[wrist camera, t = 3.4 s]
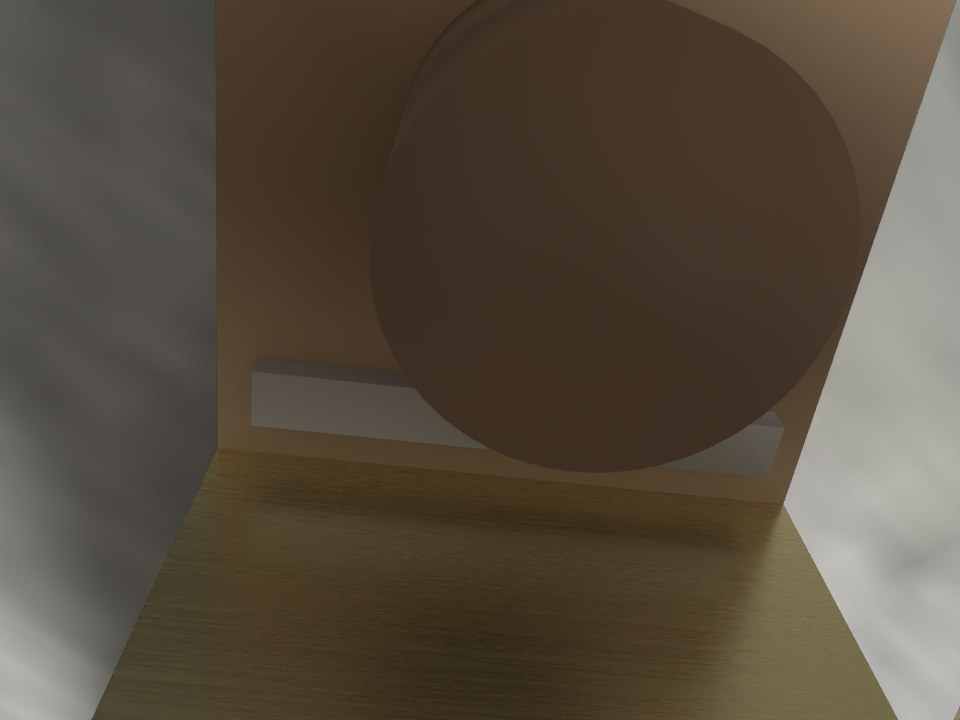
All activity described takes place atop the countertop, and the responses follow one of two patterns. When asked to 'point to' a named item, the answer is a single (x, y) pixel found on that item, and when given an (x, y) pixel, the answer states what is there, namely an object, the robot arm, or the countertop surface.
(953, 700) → the countertop surface
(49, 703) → the countertop surface
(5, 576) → the countertop surface
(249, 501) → the yellow block with knob
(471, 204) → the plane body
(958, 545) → the countertop surface
